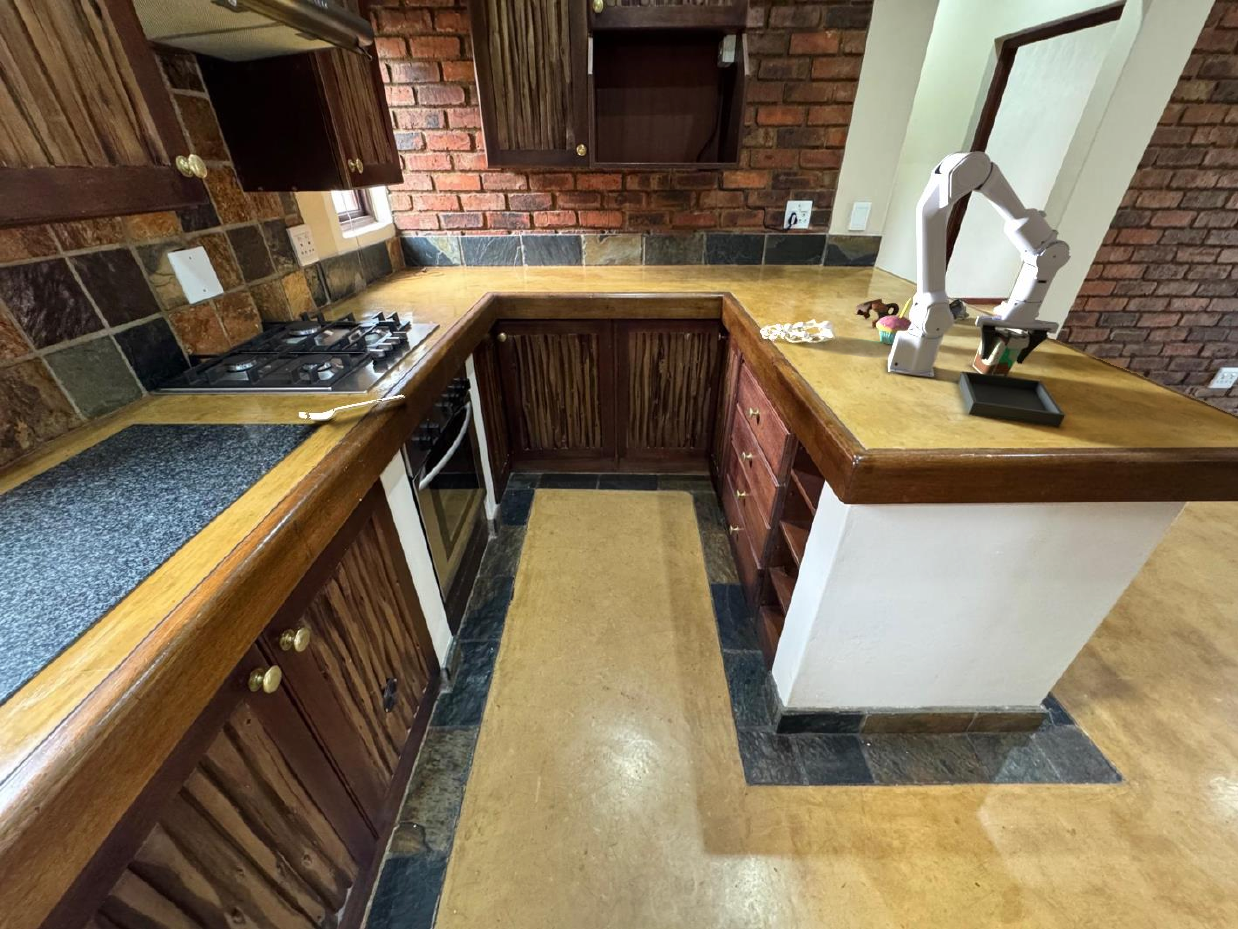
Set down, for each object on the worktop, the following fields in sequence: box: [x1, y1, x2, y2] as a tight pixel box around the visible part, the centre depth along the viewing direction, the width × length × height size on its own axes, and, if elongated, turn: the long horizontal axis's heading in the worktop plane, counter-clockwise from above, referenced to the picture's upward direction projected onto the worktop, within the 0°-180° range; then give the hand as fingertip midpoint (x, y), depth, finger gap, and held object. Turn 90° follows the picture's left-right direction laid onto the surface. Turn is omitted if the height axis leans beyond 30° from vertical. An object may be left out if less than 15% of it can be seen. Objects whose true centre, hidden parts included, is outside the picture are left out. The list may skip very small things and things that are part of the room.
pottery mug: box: [854, 298, 900, 329], centre depth 146 cm, size 12×10×8 cm
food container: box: [972, 327, 1030, 377], centre depth 110 cm, size 12×6×10 cm, turn 168°
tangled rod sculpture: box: [760, 318, 836, 344], centre depth 135 cm, size 19×14×4 cm
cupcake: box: [875, 297, 912, 346], centre depth 130 cm, size 9×8×12 cm
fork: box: [298, 394, 406, 422], centre depth 102 cm, size 3×20×2 cm, turn 122°
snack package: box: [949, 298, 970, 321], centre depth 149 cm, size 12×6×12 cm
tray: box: [957, 371, 1066, 429], centre depth 100 cm, size 15×18×3 cm
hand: (1000, 360), depth 111 cm, fingers closed on food container, 6 cm apart
